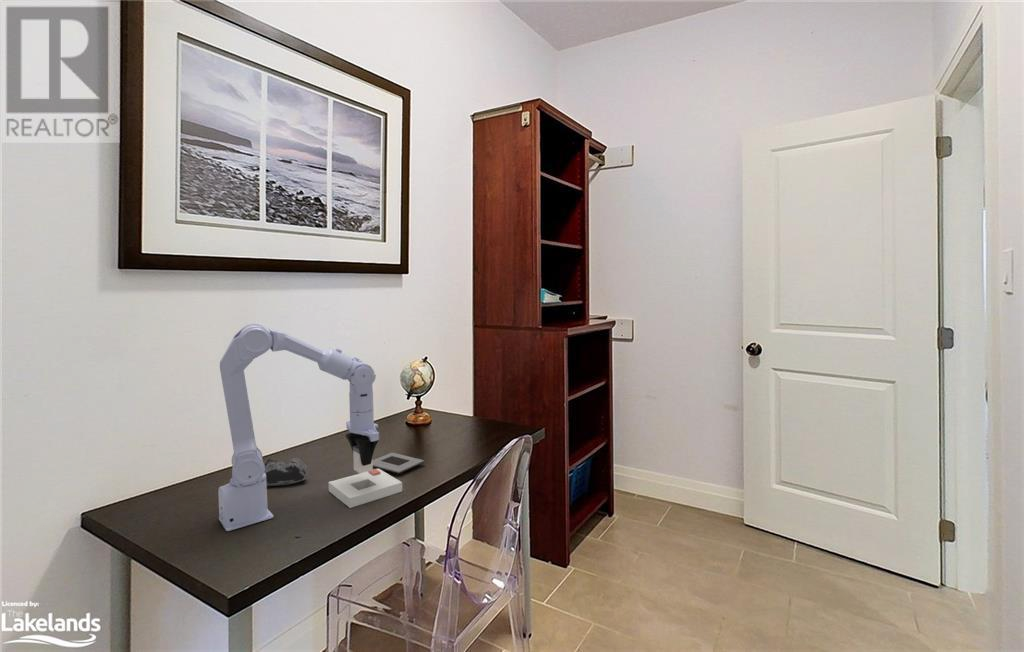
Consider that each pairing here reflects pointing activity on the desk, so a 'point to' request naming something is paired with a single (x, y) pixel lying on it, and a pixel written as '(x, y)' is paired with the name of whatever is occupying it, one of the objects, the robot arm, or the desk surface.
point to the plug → (358, 464)
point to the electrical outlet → (396, 463)
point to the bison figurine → (285, 472)
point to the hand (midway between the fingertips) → (363, 462)
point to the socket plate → (364, 487)
